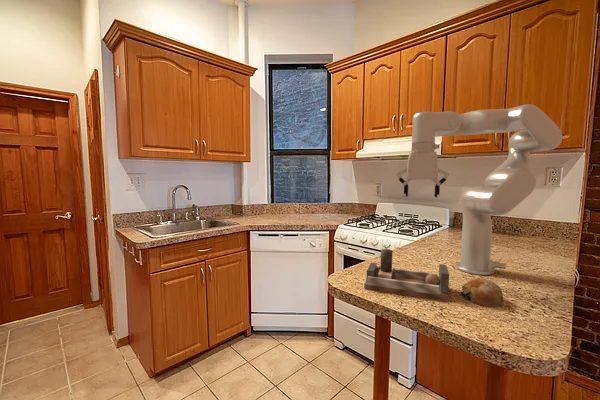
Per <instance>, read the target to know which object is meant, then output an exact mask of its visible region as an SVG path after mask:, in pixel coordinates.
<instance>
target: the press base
mask: <svg viewBox="0 0 600 400" xmlns="http://www.w3.org/2000/svg"><path fill="white" fill-rule="evenodd" d="M380 267H381V265H380V266H379V265H378V262H370V263H369V265H368V267H367V269H366V279H365V282H364V285H363V289H365V290H370V291H372V290H373V291H378V292H384V293H385V292H386V293H391V294H398V295H403V296H404V295H405V296H411V297H418V298H423V299H424V298H425V299H432V300H437V301H444V302H449V301H450V298H449V297H450V296H449V290H450V289H449V288H450V273H449V270H448V266H447V265H446V264H438V273H436V272H429V271H422V270H420V271H419V270H414V269H413V270H411V269H405V268H404V269H403V268H395V267H394V268H395V278H394V279H387V278H380V277H378V273H379V271H380Z"/></svg>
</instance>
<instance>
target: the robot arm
mask: <svg viewBox="0 0 600 400" xmlns="http://www.w3.org/2000/svg"><path fill="white" fill-rule="evenodd" d="M411 127H412V129H411V152H409V153H408V157H407V165H406V166H407V167H406V168H405V169H402V170H401V171H398V172H397V173H396V176H397V178H398V180H399V182H400V183H401V184H402V185H403V195H405V197H408V196H409V185H408V184H409V183H410V182H411V181H433V183H434V184H435V185H434V198H438V196H440V191H441V189H440V188H441V187H440V186H441V185H442V184H444V183H445V182H446V180H447V179H448V177H449V176H450V173H449V172H447V171H445V170H443V169H441V168H439V161H438V154H437V151H436V150H438V149H440V144H436V137H437V138H438V137H452V136H469V135H470V136H471V135H473V136H474V135H484V134H485V135H486V134H487V135H488V134H500V133H501V134H504V133H505V134H506V133H512V132H515V133H513V134H512V135H511V136H510V137H509V140H508V147H507V148H508V155H507V158H506V159H505V160H504V161H503V162H502V163H501V164H500V165H499V166H498V167H496V168H495V169H494V170H493V171H492V172H490V173H489V174H488V175H487V176H486V178H485V180H484V186H470V187H469V188H466V189H465V190H464V191H463V192H462V194H461V196H460V206H461V211H462V229H461V230H462V231H461V250H460V251H461V252H460V261H458V262H456V263H455V267H456V269H457V270H459V271H462V272H464V273H468V274H472V275H477V276H478V275H480V276H488V275H493V274H495V272H496V271H495V270H496V269H503V270H505V269H506V267H507V266H506V263H504V262H500V261H493V260H492V259H491V256H492V255H491V253H492V241H493V240H492V239H493V236H492V235H493V220H492V218H491V216H503V215H507V214H508V213H510V212H512V211H513V210H514V209H515V208H516V207H517V206H519V205H520V204H521V203H522V202H523V201H524V200H526V198H528V197H529V196H530V195H531V194H532V193H533V191H534V189H535V188H536V184H537V177H536V175H535V173H534V172H533V171H531V169H532V167H533V165H532V164H533V163H532V160H531V153H534V152H546V151H553V150H554V149H556V148H558V147H559V146H560V145H561V143H562V141H563V133H562V131H561V129H560V128H559V126H558V125H557V124H556V123H555V122H554V121H553V120H552V119H551V118H550V117H549V116H548V115H547V114H546V113H545V112H544V111H543V110H541V108H539V107H538V106H536V105H534V104H529V103H525V104H521V105H518V106H513V107H511V108H497V109H496V108H495V109H493V108H492V109H477V110H473V111H468V112H466V113H465V112H464V113H461V114H459V113H458V112H456V111H452V110H451V111H450V110H446V111H440V112H437V111H436V112H433V111H421V112H416V113H414V114H413V117H412V126H411ZM405 173H406V180H405V179H403V177H402V175H404V174H405ZM438 174H441V175H442V178H441V179H440V180H439V179H438V177H439V176H438Z"/></svg>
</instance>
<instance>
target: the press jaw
mask: <svg viewBox="0 0 600 400" xmlns="http://www.w3.org/2000/svg"><path fill="white" fill-rule="evenodd" d="M378 277H380V278H387V279H394V278H395V267H394V266H393V250H392V249H388V248H382V249H381V250H380V271H379V273H378Z"/></svg>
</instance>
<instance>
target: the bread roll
mask: <svg viewBox="0 0 600 400" xmlns="http://www.w3.org/2000/svg"><path fill="white" fill-rule="evenodd" d="M461 288H462V289H461V290H462V291H461V293H460V294H461V296H462V297H464V299H465V300H467V301H468V302H470V303H473V304H475V305H479V306H481V307H485V306H486V307H490V308H497V307H503V306H504V303H503V301H504V299H503V298H504V297H503V296H504V294H503V292H502V288H501V287H500V286H499V285H498V284H497V283H495V282H494V281H492V280H491V279H486V278H482V277H481V278H480V277H479V278H474V279H471V280H469V281H467V282H466V283H465V284H464V285H462V286H461Z"/></svg>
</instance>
